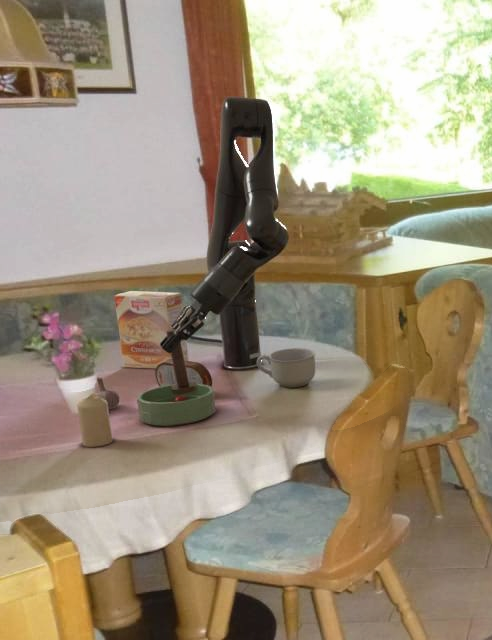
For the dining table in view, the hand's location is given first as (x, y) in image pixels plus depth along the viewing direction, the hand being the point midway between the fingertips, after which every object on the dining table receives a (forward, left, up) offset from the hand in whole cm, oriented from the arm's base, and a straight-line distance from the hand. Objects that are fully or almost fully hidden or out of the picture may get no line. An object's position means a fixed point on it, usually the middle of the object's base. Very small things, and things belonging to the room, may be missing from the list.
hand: (164, 348), depth 222 cm
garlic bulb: (-19, -8, -17) cm, 26 cm away
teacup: (-9, +32, -17) cm, 37 cm away
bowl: (-2, +2, -16) cm, 17 cm away
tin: (-18, +10, -17) cm, 26 cm away
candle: (+4, -17, -17) cm, 24 cm away
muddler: (+1, +3, -10) cm, 10 cm away
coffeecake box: (-51, +16, -17) cm, 56 cm away
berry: (-6, +4, -14) cm, 16 cm away
